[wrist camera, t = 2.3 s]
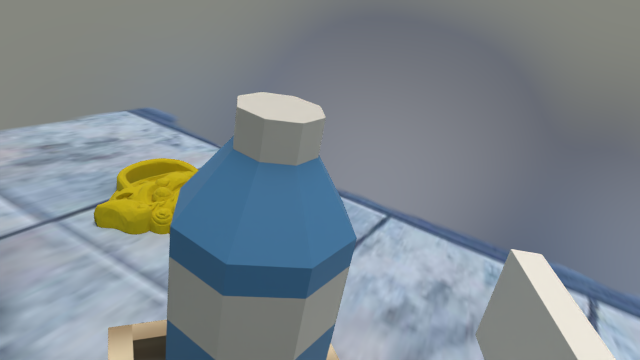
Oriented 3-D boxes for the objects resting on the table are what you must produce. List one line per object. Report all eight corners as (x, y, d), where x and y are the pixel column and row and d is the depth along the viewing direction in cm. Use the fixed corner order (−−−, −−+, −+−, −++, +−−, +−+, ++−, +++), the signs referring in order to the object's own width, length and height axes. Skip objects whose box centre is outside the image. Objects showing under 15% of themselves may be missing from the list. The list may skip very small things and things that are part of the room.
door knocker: (137, 170, 66) (137, 143, 64) (247, 186, 67) (249, 160, 65) (84, 231, 51) (81, 198, 49) (226, 250, 52) (229, 219, 50)
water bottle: (264, 380, 37) (317, 79, 26) (323, 490, 30) (427, 142, 19) (144, 423, 32) (147, 73, 21) (181, 567, 25) (214, 156, 14)
